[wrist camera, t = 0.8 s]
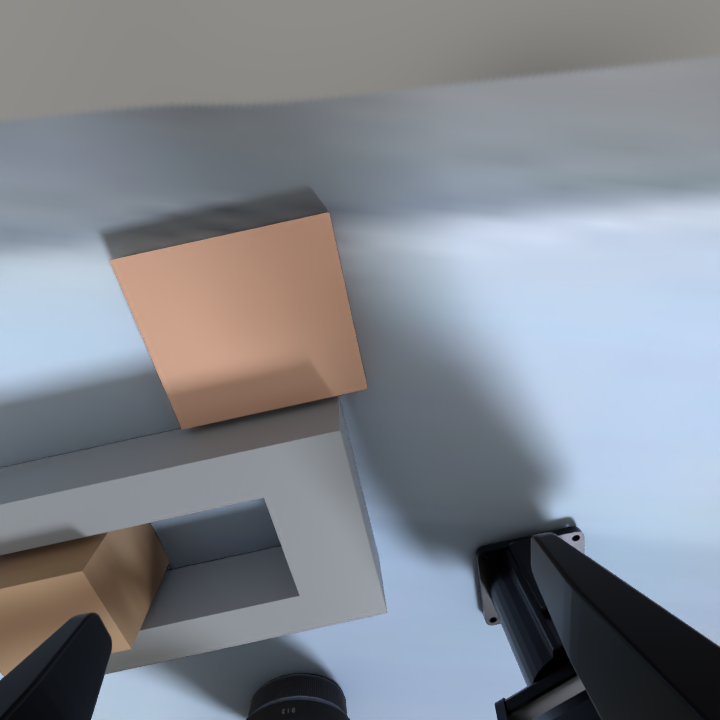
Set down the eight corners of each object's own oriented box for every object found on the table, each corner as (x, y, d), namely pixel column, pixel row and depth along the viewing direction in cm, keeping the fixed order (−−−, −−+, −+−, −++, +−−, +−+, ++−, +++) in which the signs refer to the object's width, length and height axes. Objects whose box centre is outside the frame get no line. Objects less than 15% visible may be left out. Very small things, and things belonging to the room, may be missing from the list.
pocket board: (379, 557, 24) (387, 612, 21) (86, 621, 24) (48, 686, 21) (338, 394, 20) (340, 430, 17) (-14, 470, 20) (-81, 522, 17)
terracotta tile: (365, 380, 20) (367, 389, 19) (188, 419, 20) (181, 429, 19) (329, 211, 17) (329, 212, 16) (121, 257, 17) (109, 260, 16)
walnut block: (170, 559, 23) (131, 648, 18) (69, 581, 23) (4, 676, 18) (135, 491, 21) (82, 570, 17) (25, 515, 21) (-59, 601, 17)
